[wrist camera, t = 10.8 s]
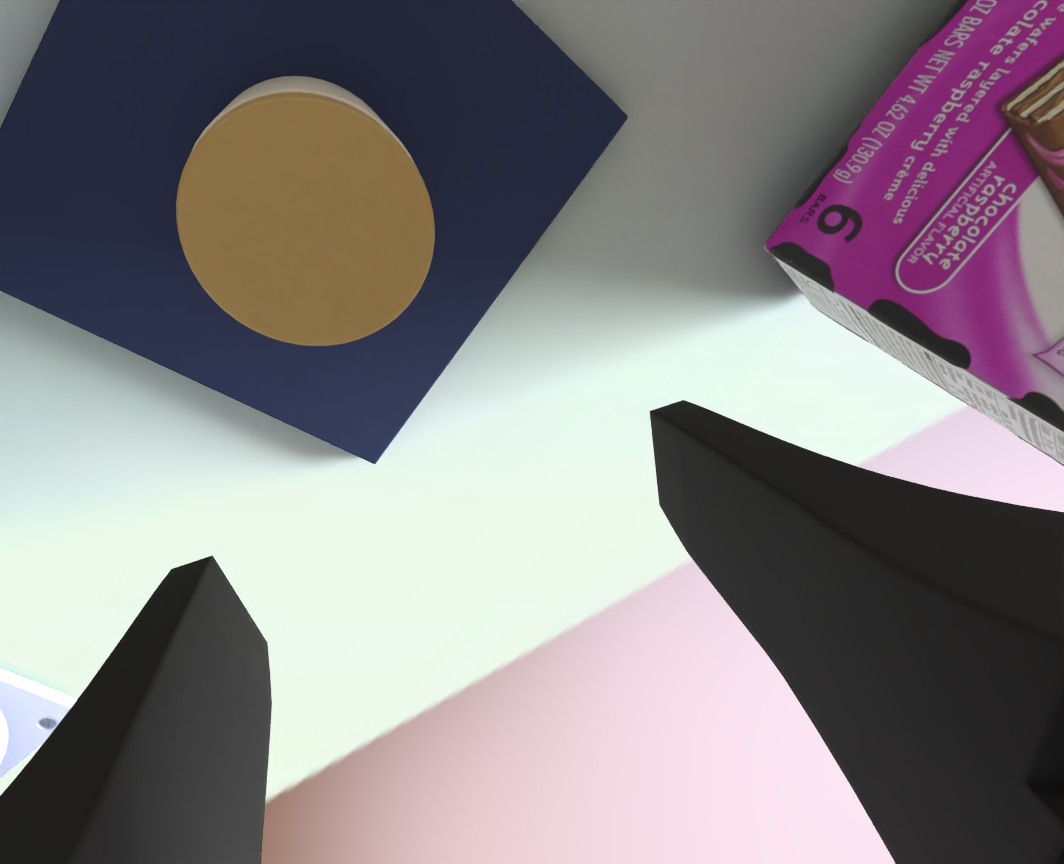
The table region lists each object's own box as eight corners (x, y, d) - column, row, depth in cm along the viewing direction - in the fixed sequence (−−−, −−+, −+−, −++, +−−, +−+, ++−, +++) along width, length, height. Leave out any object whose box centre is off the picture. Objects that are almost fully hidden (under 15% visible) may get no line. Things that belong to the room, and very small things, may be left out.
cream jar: (311, 306, 17) (313, 392, 13) (162, 165, 15) (109, 217, 11) (440, 194, 17) (485, 247, 13) (309, 29, 14) (312, 28, 10)
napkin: (373, 456, 21) (375, 465, 20) (-54, 256, 15) (-64, 262, 15) (622, 114, 18) (629, 116, 17) (205, -297, 12) (202, -308, 12)
